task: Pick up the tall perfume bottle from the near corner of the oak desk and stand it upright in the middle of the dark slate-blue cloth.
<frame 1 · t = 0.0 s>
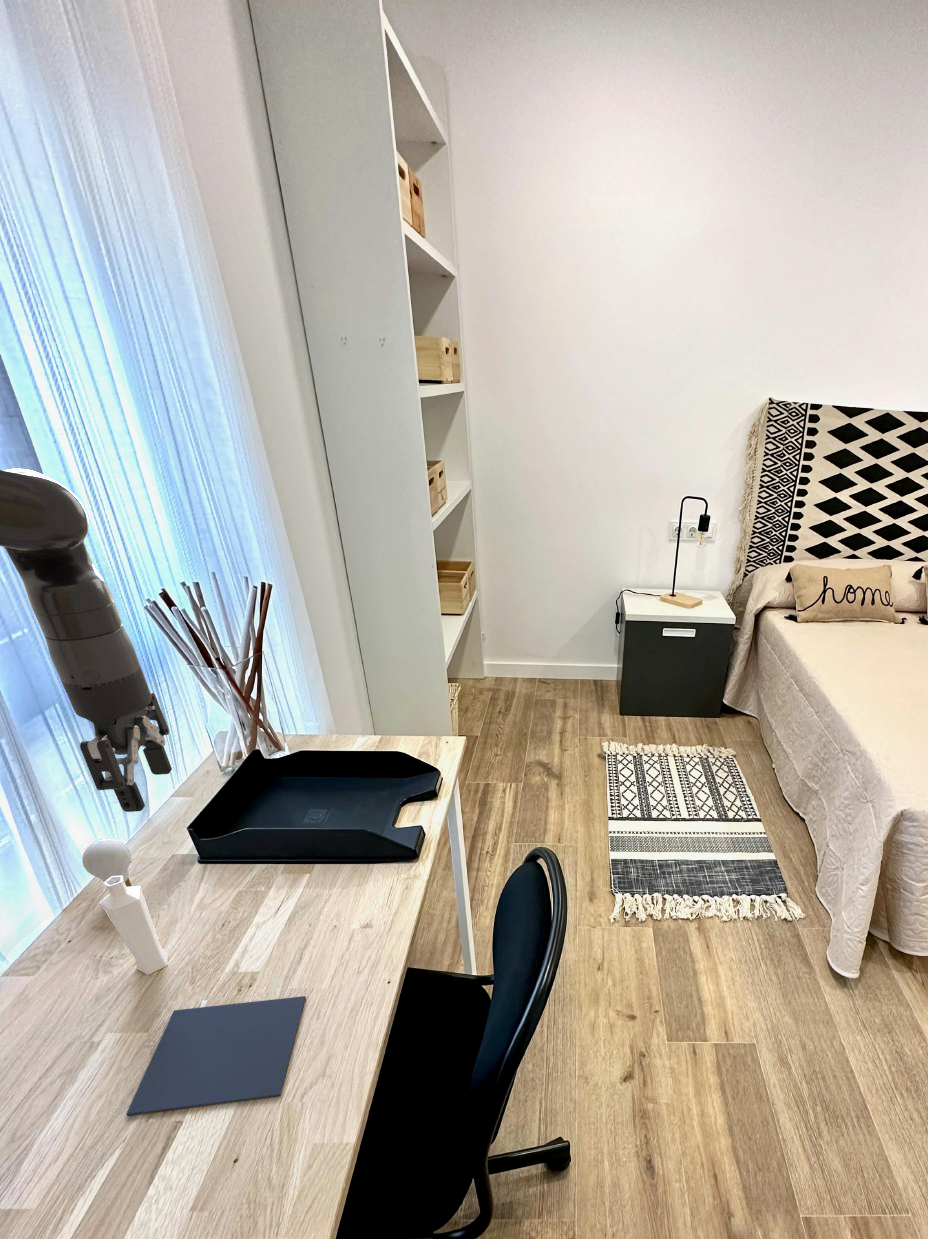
hand: (149, 790, 81), 25 cm above the table, tool pointing down, fingers open, 8 cm apart
perfume bottle: (152, 965, 90), on the table
cloth: (224, 1051, 79), on the table
light bulb: (124, 894, 102), on the table
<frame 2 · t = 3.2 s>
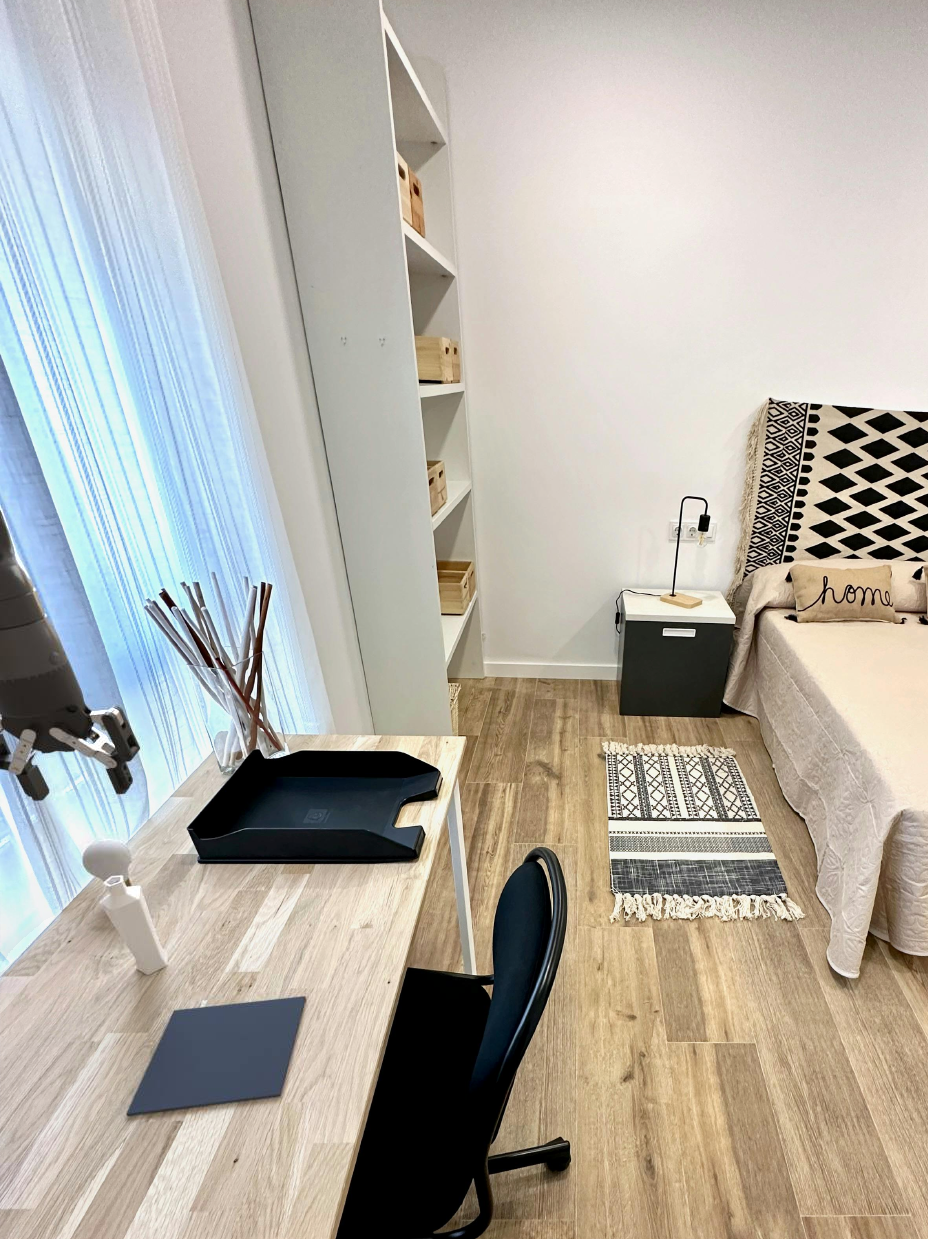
hand: (83, 794, 76), 28 cm above the table, tool pointing down, fingers open, 8 cm apart
nothing on the table moved.
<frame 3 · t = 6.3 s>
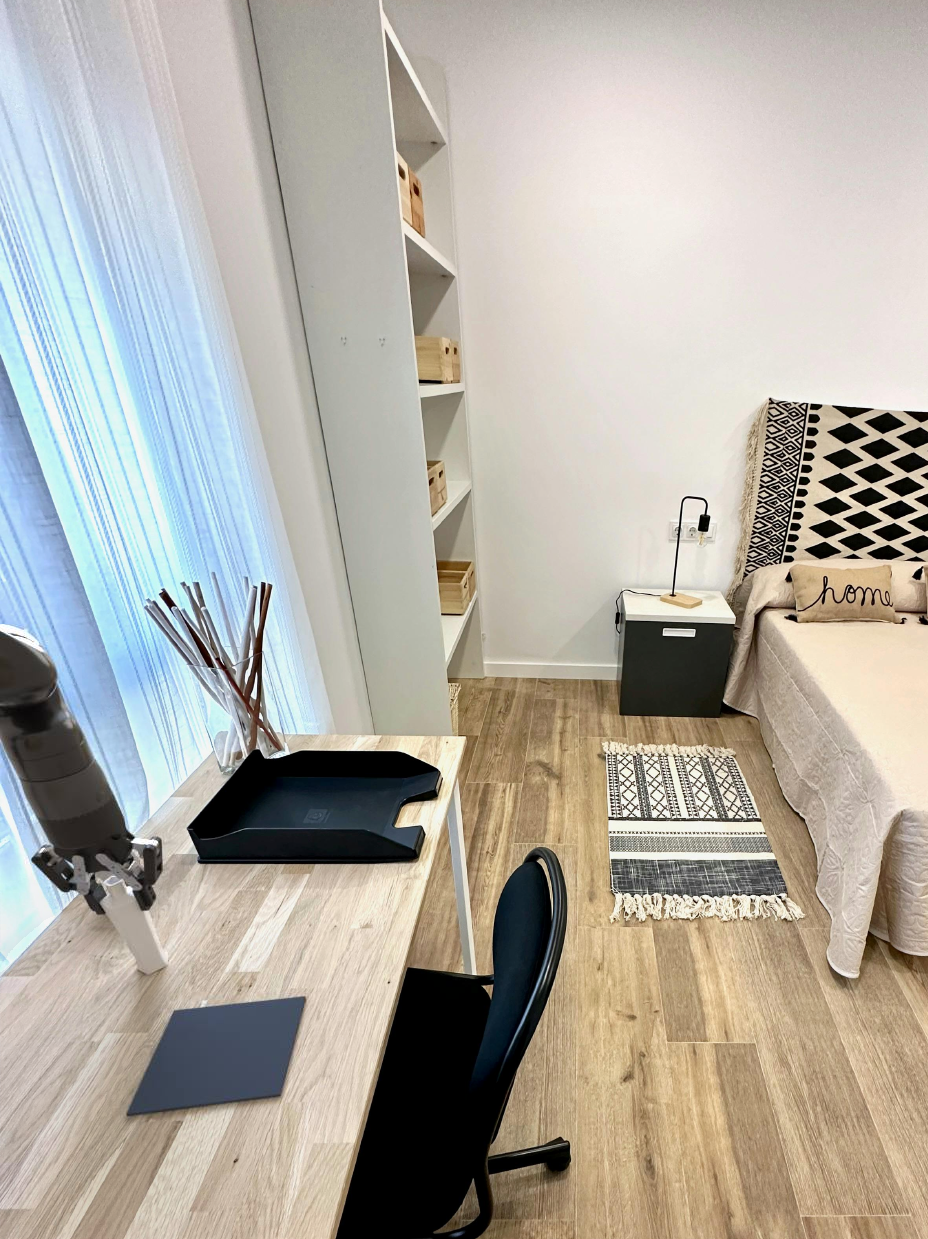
hand: (126, 908, 84), 10 cm above the table, tool pointing down, fingers closed on perfume bottle, 4 cm apart
perfume bottle: (153, 964, 90), on the table, touching gripper
everything else where it was.
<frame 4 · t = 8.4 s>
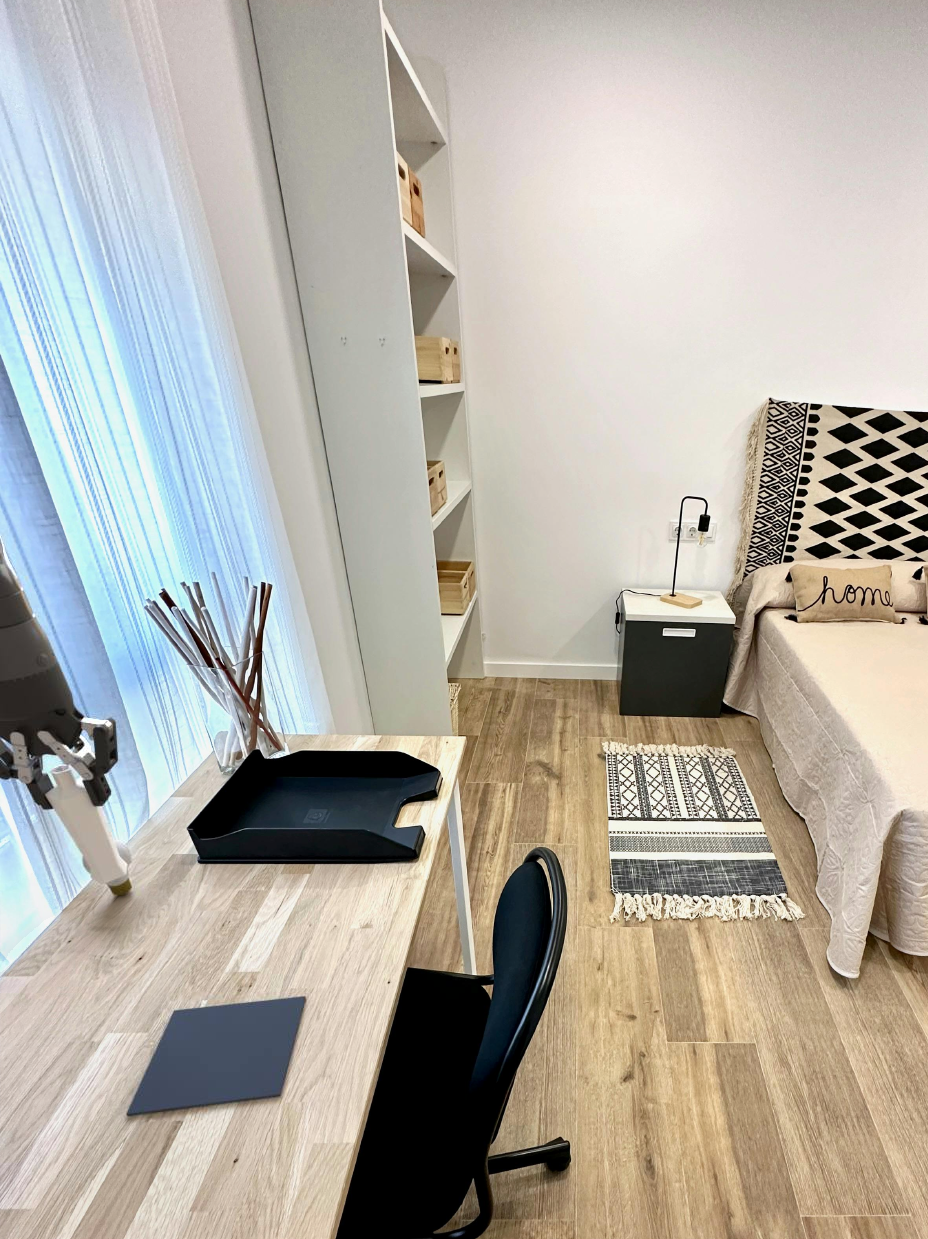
hand: (76, 803, 75), 27 cm above the table, tool pointing down, fingers closed on perfume bottle, 4 cm apart
perfume bottle: (109, 874, 80), point 17 cm above the table, touching gripper
everything else where it was.
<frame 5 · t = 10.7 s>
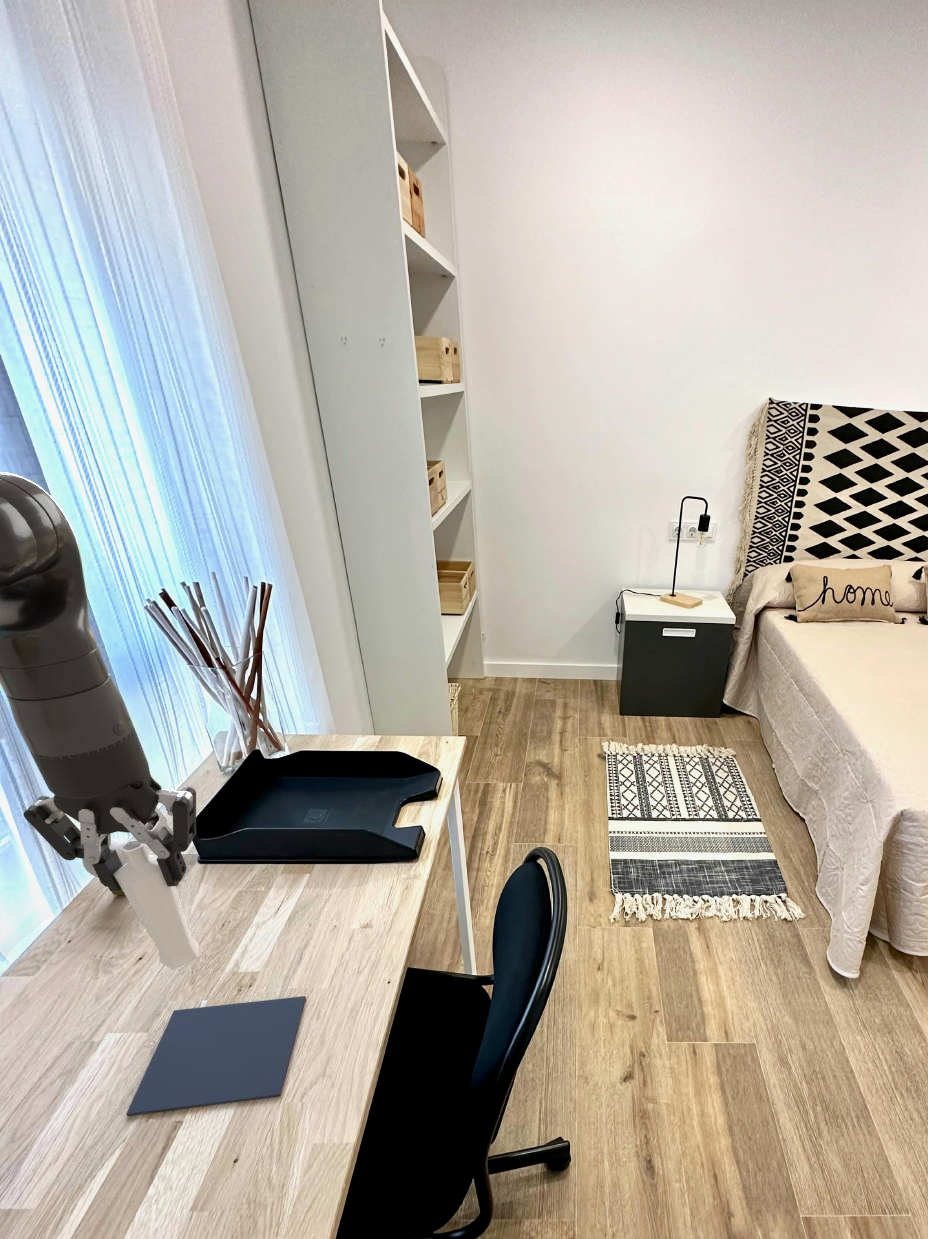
hand: (147, 882, 65), 26 cm above the table, tool pointing down, fingers closed on perfume bottle, 4 cm apart
perfume bottle: (179, 957, 71), point 16 cm above the table, touching gripper
everything else where it was.
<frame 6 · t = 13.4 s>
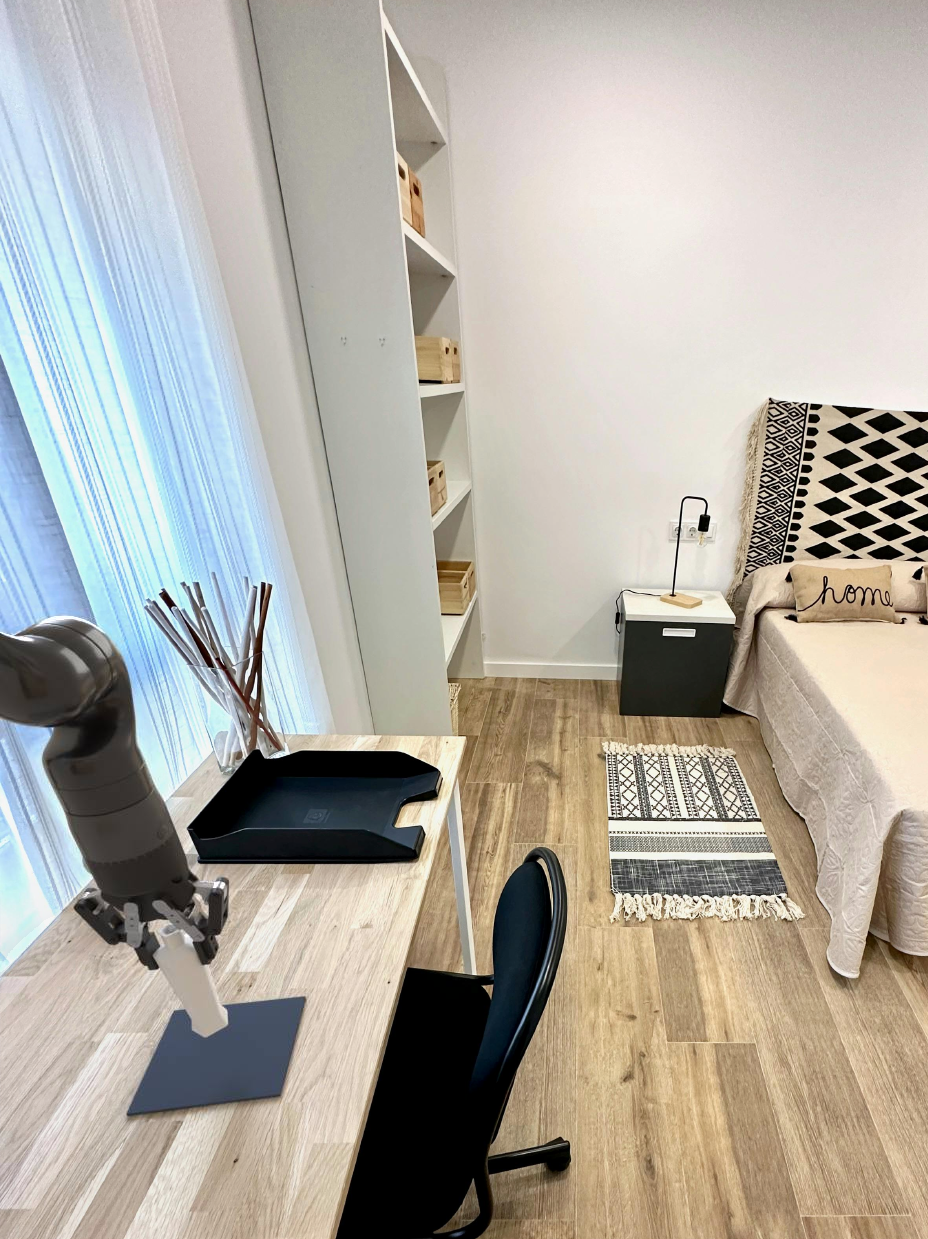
hand: (183, 961, 70), 16 cm above the table, tool pointing down, fingers closed on perfume bottle, 4 cm apart
perfume bottle: (210, 1024, 76), point 5 cm above the table, touching gripper
everything else where it was.
when the fingers open (11 cm above the table, at t = 15.3 s): perfume bottle stays where it is, resting on cloth.
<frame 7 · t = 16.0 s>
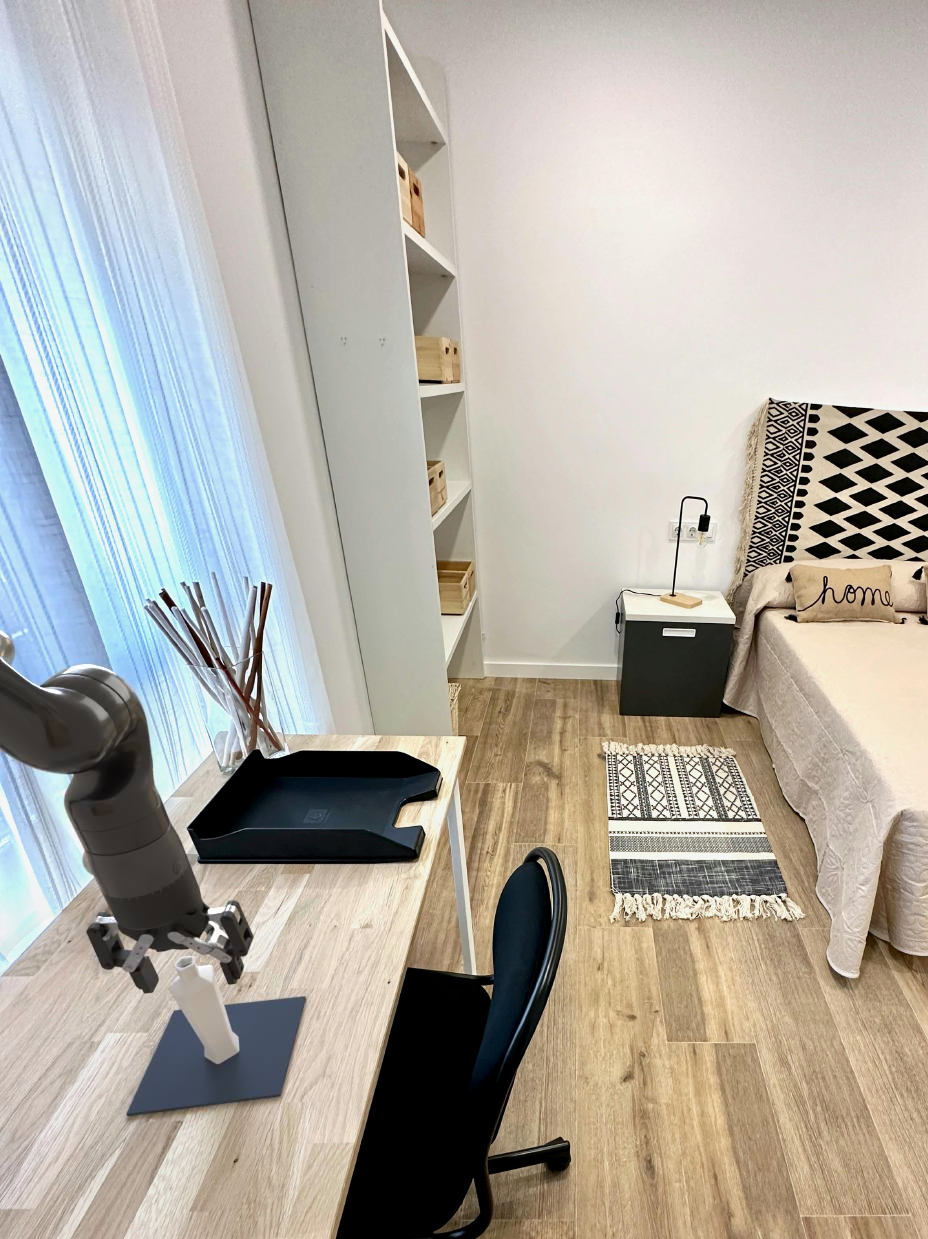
hand: (193, 983, 72), 12 cm above the table, tool pointing down, fingers open, 8 cm apart
perfume bottle: (222, 1051, 79), resting on cloth
everything else where it was.
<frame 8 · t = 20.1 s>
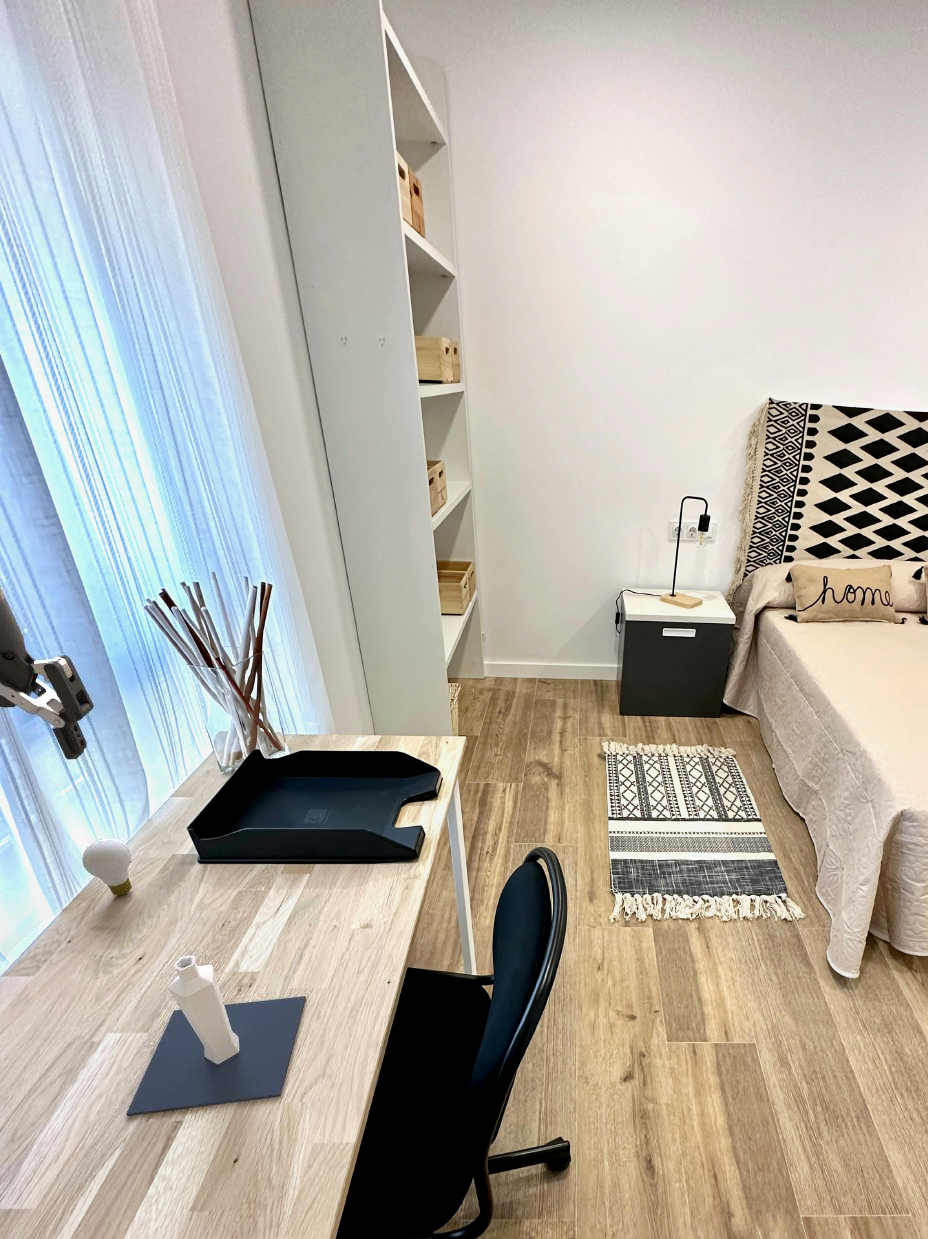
hand: (29, 758, 66), 36 cm above the table, tool pointing down, fingers open, 8 cm apart
nothing on the table moved.
at the end: perfume bottle inside the target area on the cloth (0.2 cm from its centre), point 0.2 cm above the cloth's base; perfume bottle tilted 0°; the gripper is holding nothing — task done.
